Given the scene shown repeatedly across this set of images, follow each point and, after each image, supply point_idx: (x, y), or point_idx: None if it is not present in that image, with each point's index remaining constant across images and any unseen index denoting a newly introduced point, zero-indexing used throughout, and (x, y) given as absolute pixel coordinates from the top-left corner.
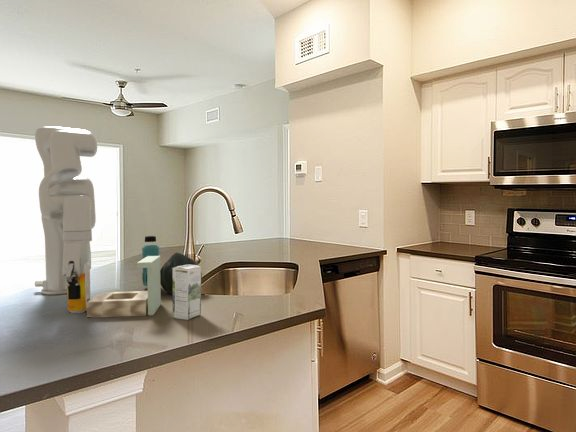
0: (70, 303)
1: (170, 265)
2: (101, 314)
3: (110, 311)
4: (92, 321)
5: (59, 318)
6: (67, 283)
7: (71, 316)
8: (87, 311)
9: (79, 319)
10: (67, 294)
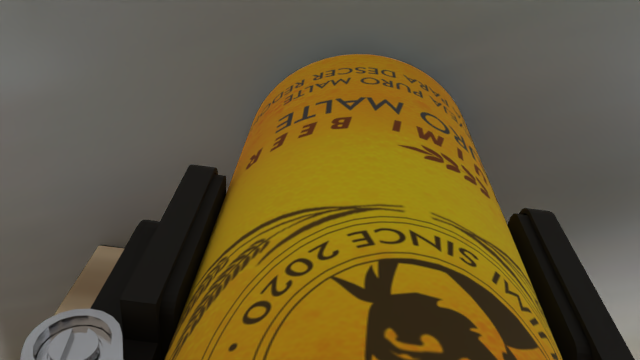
0: (248, 139)
1: None
2: None
3: None
4: (5, 289)
5: (95, 23)
6: (251, 287)
7: (159, 119)
8: (74, 285)
9: (57, 201)
10: (306, 146)
